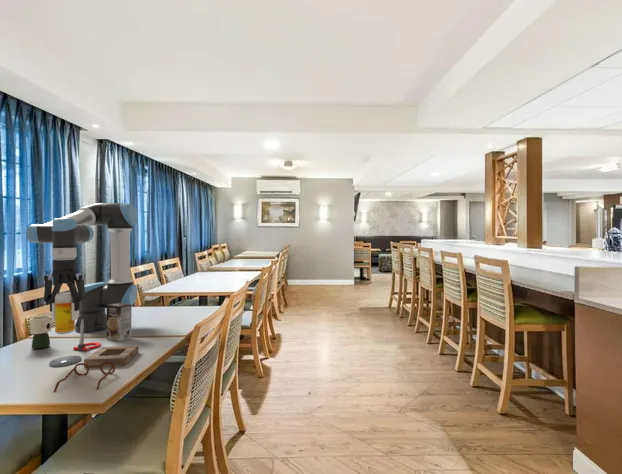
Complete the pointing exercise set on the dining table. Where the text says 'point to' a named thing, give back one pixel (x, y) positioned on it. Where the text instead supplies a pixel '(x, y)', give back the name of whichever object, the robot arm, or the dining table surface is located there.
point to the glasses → (88, 371)
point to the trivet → (64, 361)
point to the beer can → (64, 313)
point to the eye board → (112, 356)
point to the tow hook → (81, 342)
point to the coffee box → (119, 321)
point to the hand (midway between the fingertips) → (65, 319)
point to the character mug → (40, 331)
